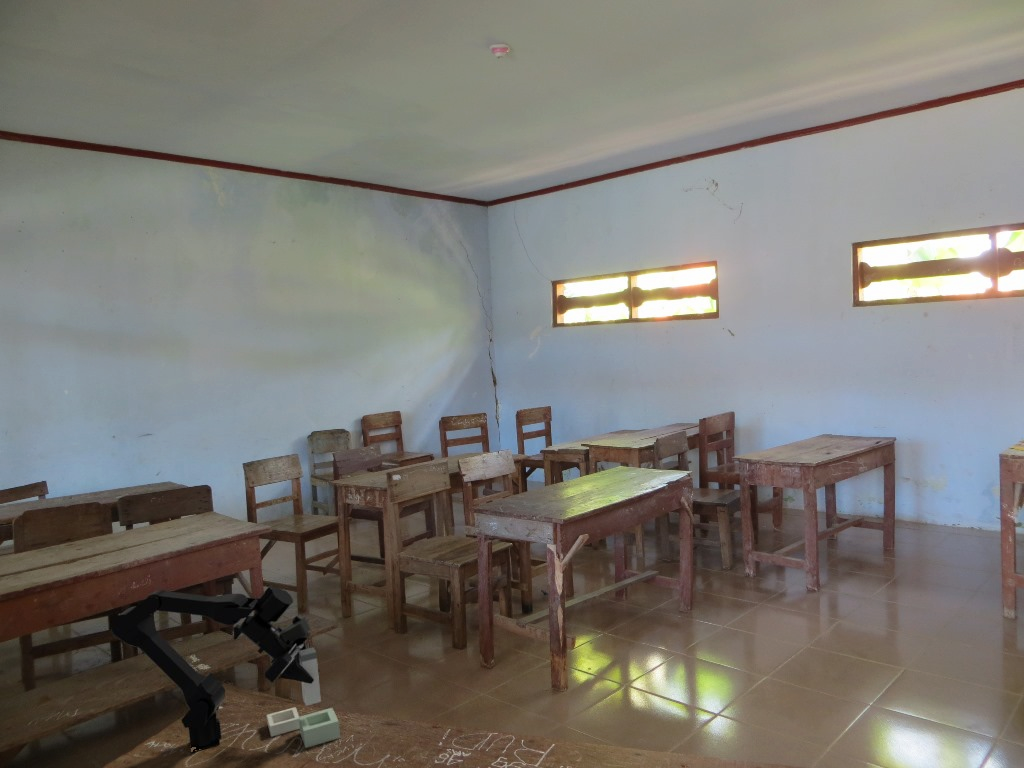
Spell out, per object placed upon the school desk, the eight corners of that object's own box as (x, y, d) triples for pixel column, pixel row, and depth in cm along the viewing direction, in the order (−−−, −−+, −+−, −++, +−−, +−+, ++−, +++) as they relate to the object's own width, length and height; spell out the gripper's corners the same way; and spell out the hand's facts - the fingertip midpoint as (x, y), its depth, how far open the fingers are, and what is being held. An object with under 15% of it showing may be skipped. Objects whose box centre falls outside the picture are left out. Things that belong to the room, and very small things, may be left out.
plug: (306, 705, 174) (301, 655, 174) (303, 700, 177) (298, 650, 177) (320, 701, 176) (316, 652, 175) (317, 696, 179) (313, 647, 178)
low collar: (270, 736, 177) (269, 726, 177) (267, 724, 184) (266, 714, 184) (300, 728, 180) (299, 718, 180) (296, 716, 186) (295, 707, 186)
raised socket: (305, 748, 170) (303, 731, 170) (300, 733, 178) (298, 717, 177) (340, 737, 174) (338, 721, 174) (333, 723, 181) (332, 707, 181)
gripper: (274, 624, 166) (327, 668, 167) (298, 597, 185) (346, 637, 185) (242, 661, 167) (295, 705, 167) (270, 630, 185) (317, 670, 186)
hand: (315, 677), depth 176 cm, fingers closed on plug, 5 cm apart
